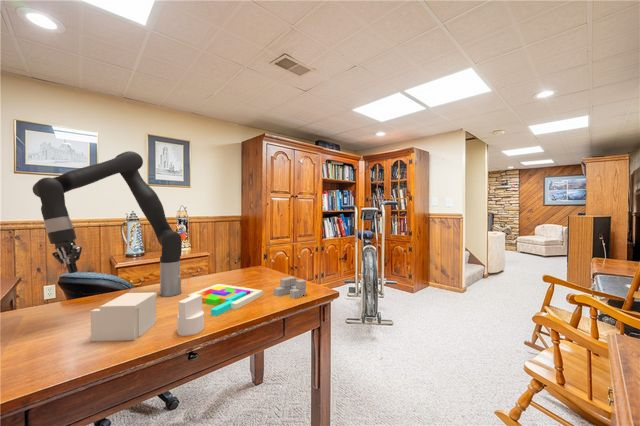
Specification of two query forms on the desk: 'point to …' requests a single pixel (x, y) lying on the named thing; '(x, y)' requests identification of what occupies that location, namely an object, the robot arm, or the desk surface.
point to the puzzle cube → (291, 287)
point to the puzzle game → (227, 297)
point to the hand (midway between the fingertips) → (73, 272)
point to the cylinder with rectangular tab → (190, 316)
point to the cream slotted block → (124, 317)
